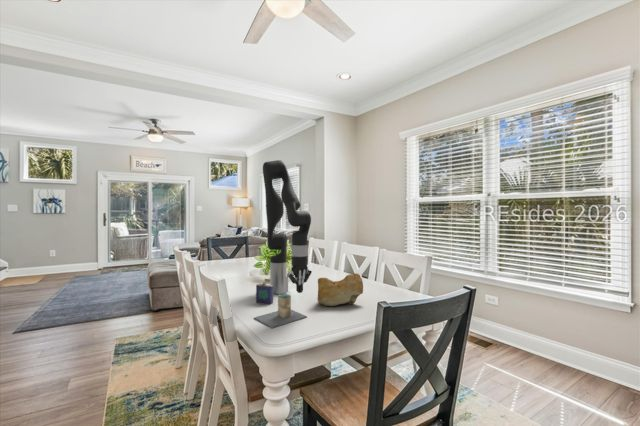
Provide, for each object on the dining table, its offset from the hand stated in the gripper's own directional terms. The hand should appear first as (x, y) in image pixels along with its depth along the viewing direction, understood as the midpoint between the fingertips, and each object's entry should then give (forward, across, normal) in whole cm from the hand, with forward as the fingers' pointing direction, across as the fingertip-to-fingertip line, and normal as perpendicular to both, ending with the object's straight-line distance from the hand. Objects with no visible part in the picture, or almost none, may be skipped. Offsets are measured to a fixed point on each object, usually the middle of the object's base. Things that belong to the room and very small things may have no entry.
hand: (299, 292), depth 141 cm
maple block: (+9, +8, 0) cm, 12 cm away
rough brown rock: (+9, -25, +1) cm, 26 cm away
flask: (+9, +5, -23) cm, 25 cm away
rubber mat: (+9, +10, 0) cm, 14 cm away
